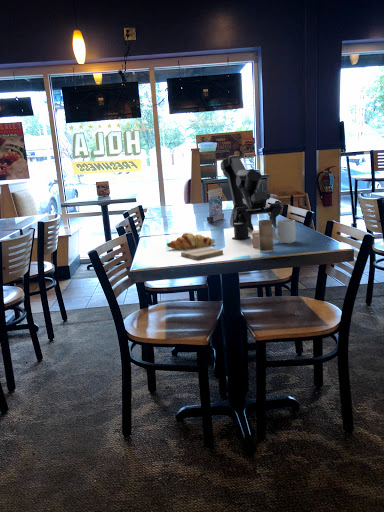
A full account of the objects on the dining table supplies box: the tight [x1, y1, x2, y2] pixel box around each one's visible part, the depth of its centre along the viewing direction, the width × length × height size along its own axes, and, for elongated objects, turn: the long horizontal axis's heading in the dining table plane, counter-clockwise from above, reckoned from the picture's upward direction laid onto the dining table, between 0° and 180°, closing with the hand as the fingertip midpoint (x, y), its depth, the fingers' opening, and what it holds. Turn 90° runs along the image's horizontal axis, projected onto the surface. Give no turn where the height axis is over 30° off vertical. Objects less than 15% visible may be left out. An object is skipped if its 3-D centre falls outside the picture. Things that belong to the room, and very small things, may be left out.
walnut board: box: [180, 246, 224, 261], centre depth 164 cm, size 12×12×2 cm
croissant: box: [166, 232, 216, 251], centre depth 182 cm, size 21×10×8 cm, turn 97°
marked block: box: [251, 229, 260, 248], centre depth 171 cm, size 6×6×6 cm
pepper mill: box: [258, 219, 275, 254], centre depth 159 cm, size 5×5×12 cm
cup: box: [272, 219, 297, 244], centre depth 173 cm, size 7×10×9 cm
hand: (264, 228), depth 159 cm, fingers open, 9 cm apart
